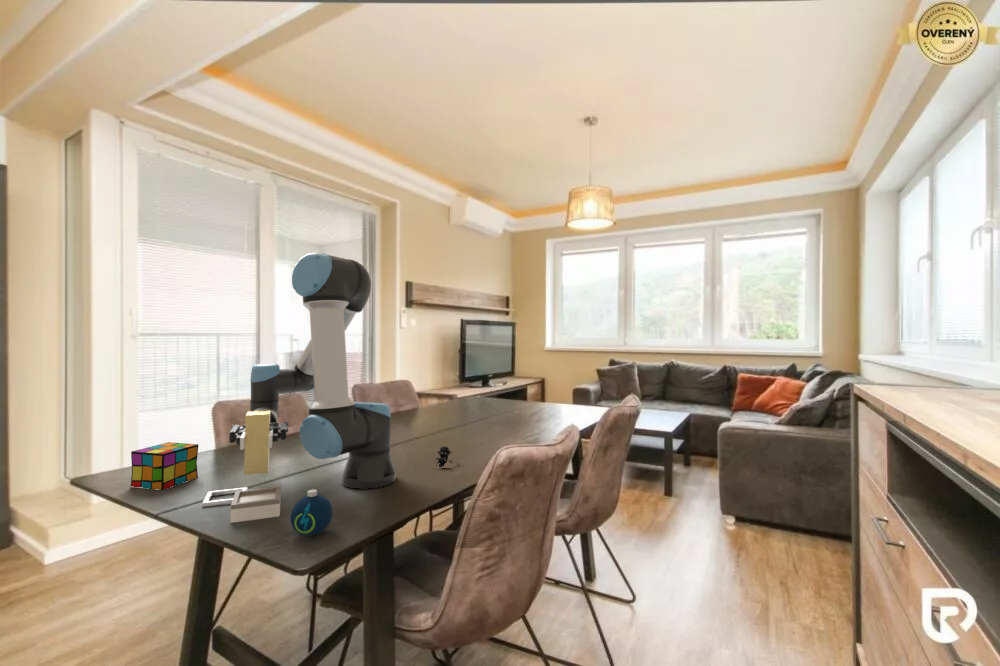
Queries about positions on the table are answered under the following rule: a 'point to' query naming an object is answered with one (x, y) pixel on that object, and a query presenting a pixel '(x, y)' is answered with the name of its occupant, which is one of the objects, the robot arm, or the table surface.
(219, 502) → the jamb socket
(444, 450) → the toy figurine
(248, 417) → the block
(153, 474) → the toy
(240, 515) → the white square tray
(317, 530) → the christmas ornament
